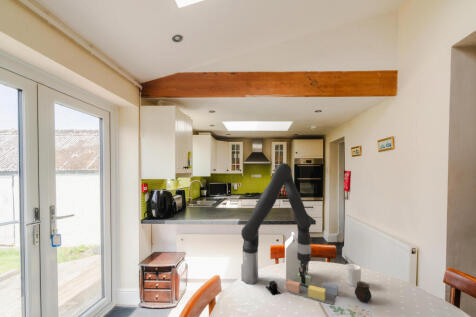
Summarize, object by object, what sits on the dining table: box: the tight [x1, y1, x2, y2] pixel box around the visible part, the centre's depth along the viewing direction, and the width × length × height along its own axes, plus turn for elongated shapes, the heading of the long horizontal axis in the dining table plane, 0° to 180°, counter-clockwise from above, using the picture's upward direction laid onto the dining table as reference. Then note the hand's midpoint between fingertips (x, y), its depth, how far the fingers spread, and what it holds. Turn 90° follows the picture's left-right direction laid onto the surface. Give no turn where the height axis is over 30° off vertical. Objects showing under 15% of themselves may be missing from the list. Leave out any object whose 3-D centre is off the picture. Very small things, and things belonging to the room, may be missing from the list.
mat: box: [288, 281, 336, 306], centre depth 118 cm, size 22×13×1 cm, turn 60°
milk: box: [284, 231, 301, 282], centre depth 137 cm, size 12×12×26 cm
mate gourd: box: [354, 281, 372, 304], centre depth 111 cm, size 7×8×10 cm
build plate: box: [265, 280, 282, 296], centre depth 121 cm, size 12×7×5 cm, turn 18°
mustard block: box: [308, 284, 326, 301], centre depth 113 cm, size 8×4×4 cm, turn 60°
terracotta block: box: [285, 280, 300, 293], centre depth 120 cm, size 7×4×4 cm, turn 60°
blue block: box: [322, 281, 339, 297], centre depth 117 cm, size 7×4×4 cm, turn 60°
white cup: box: [345, 263, 362, 288], centre depth 126 cm, size 8×8×10 cm
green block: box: [296, 273, 312, 286], centre depth 125 cm, size 7×4×4 cm, turn 60°
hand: (304, 281), depth 124 cm, fingers closed on green block, 3 cm apart
